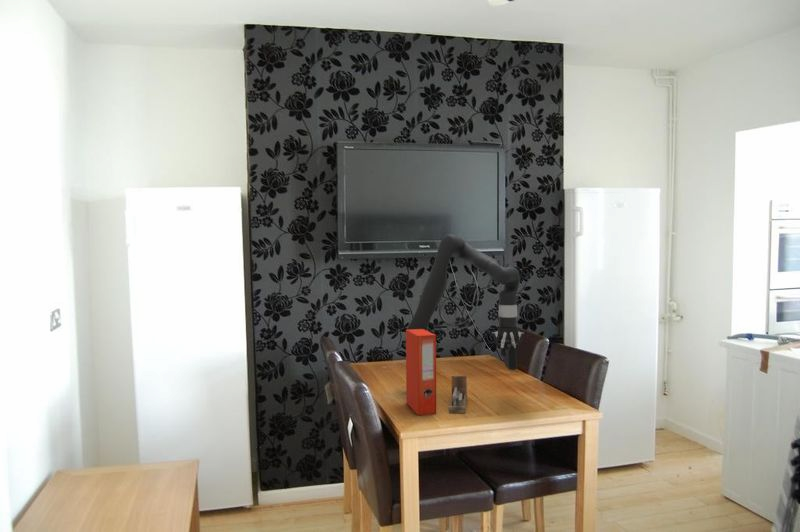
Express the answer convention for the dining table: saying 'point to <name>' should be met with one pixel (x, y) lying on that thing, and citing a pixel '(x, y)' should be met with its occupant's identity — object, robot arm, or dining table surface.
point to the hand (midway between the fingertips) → (508, 356)
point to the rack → (461, 385)
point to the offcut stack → (457, 398)
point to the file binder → (421, 371)
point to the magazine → (510, 356)
